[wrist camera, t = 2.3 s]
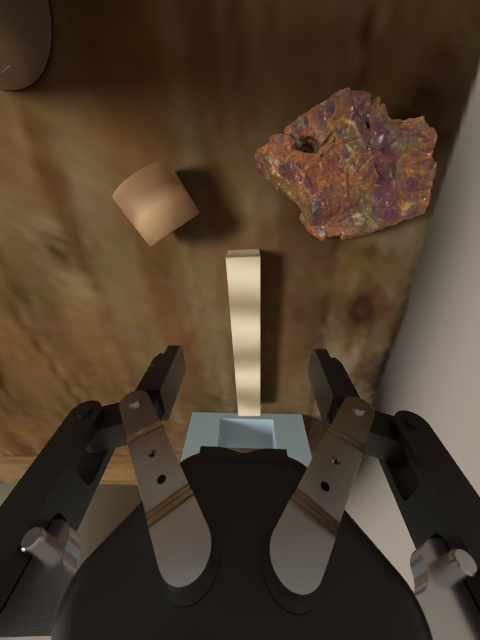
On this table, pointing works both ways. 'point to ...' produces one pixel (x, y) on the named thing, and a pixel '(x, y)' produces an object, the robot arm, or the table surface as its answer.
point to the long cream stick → (245, 326)
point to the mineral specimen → (352, 166)
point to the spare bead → (155, 201)
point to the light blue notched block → (248, 433)
